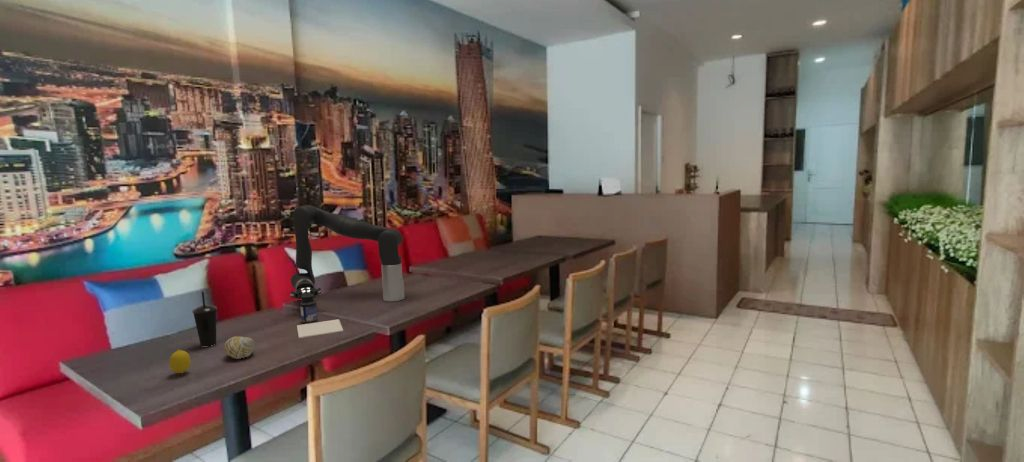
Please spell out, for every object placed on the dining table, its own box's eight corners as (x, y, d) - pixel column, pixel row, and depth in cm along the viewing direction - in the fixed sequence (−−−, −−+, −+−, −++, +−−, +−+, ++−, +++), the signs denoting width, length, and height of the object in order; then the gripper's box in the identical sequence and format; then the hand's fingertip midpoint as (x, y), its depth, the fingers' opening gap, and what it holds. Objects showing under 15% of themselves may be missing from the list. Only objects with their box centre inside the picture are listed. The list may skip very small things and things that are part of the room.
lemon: (177, 370, 162) (174, 347, 161) (195, 369, 163) (192, 346, 161) (167, 378, 157) (164, 353, 155) (186, 377, 157) (182, 352, 156)
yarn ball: (235, 347, 180) (244, 323, 178) (257, 360, 178) (267, 337, 177) (212, 356, 170) (222, 331, 168) (235, 371, 168) (246, 346, 167)
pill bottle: (320, 319, 211) (318, 293, 210) (313, 324, 205) (311, 297, 204) (306, 319, 212) (304, 293, 210) (298, 323, 206) (296, 297, 204)
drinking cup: (225, 342, 186) (219, 289, 183) (207, 350, 179) (200, 295, 176) (210, 340, 189) (204, 288, 186) (191, 347, 182) (184, 294, 179)
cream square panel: (338, 320, 209) (338, 319, 209) (343, 331, 196) (343, 330, 196) (297, 326, 202) (296, 325, 202) (298, 338, 189) (298, 337, 189)
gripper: (288, 281, 224) (289, 291, 208) (319, 278, 229) (323, 286, 213) (289, 298, 225) (290, 308, 209) (321, 294, 230) (324, 304, 215)
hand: (307, 297), depth 211 cm, fingers closed
